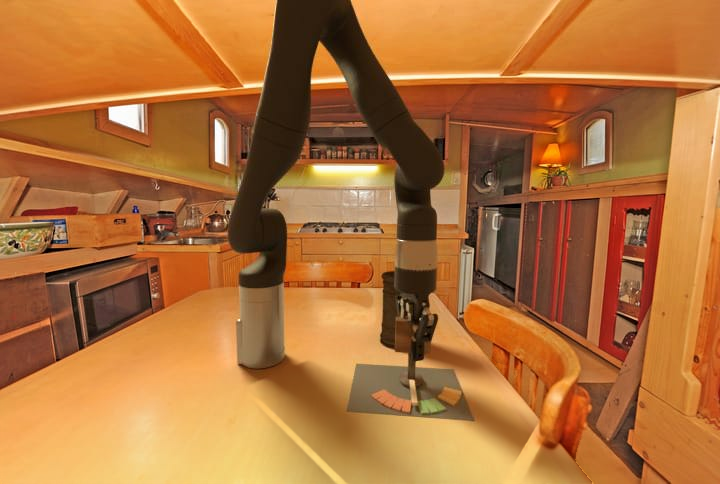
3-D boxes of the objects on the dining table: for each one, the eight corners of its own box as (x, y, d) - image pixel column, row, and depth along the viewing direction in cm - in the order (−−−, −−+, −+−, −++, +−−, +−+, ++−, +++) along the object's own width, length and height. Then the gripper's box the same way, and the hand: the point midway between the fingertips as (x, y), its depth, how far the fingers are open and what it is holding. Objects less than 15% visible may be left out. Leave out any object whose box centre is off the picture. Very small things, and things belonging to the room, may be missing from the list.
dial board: (346, 418, 49) (346, 409, 48) (356, 368, 63) (356, 362, 63) (474, 427, 47) (474, 418, 47) (453, 374, 62) (453, 367, 62)
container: (386, 356, 69) (388, 279, 67) (374, 339, 78) (375, 271, 76) (422, 351, 71) (425, 277, 69) (406, 336, 80) (408, 269, 78)
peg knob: (393, 372, 59) (395, 314, 58) (427, 375, 59) (429, 316, 57) (394, 406, 49) (396, 336, 48) (434, 409, 49) (437, 338, 48)
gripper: (455, 271, 49) (451, 372, 50) (418, 257, 62) (415, 337, 64) (412, 273, 47) (409, 378, 49) (383, 258, 60) (382, 341, 62)
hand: (413, 354), depth 56 cm, fingers closed on peg knob, 3 cm apart
